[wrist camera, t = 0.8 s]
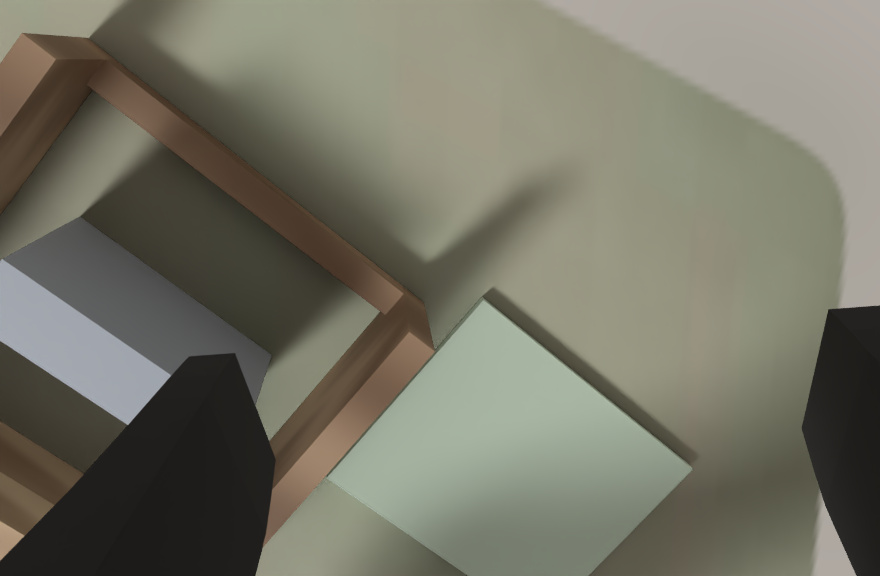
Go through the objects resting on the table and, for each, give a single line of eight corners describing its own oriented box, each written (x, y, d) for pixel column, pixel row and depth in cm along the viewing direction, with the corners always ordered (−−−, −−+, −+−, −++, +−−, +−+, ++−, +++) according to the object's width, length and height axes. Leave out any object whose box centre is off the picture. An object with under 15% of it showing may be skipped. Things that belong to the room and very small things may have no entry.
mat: (537, 618, 33) (539, 625, 32) (327, 473, 30) (326, 478, 30) (688, 464, 31) (693, 468, 31) (482, 296, 29) (483, 300, 28)
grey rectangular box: (238, 394, 29) (206, 476, 23) (47, 260, 27) (-40, 315, 21) (271, 354, 29) (248, 428, 23) (80, 216, 27) (2, 259, 21)
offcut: (119, 563, 31) (78, 645, 26) (-96, 432, 28) (-179, 499, 24) (157, 517, 30) (122, 593, 26) (-58, 381, 28) (-135, 440, 24)
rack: (161, 605, 31) (123, 705, 26) (-177, 402, 28) (-290, 473, 23) (423, 302, 29) (435, 351, 24) (87, 38, 25) (21, 33, 20)
